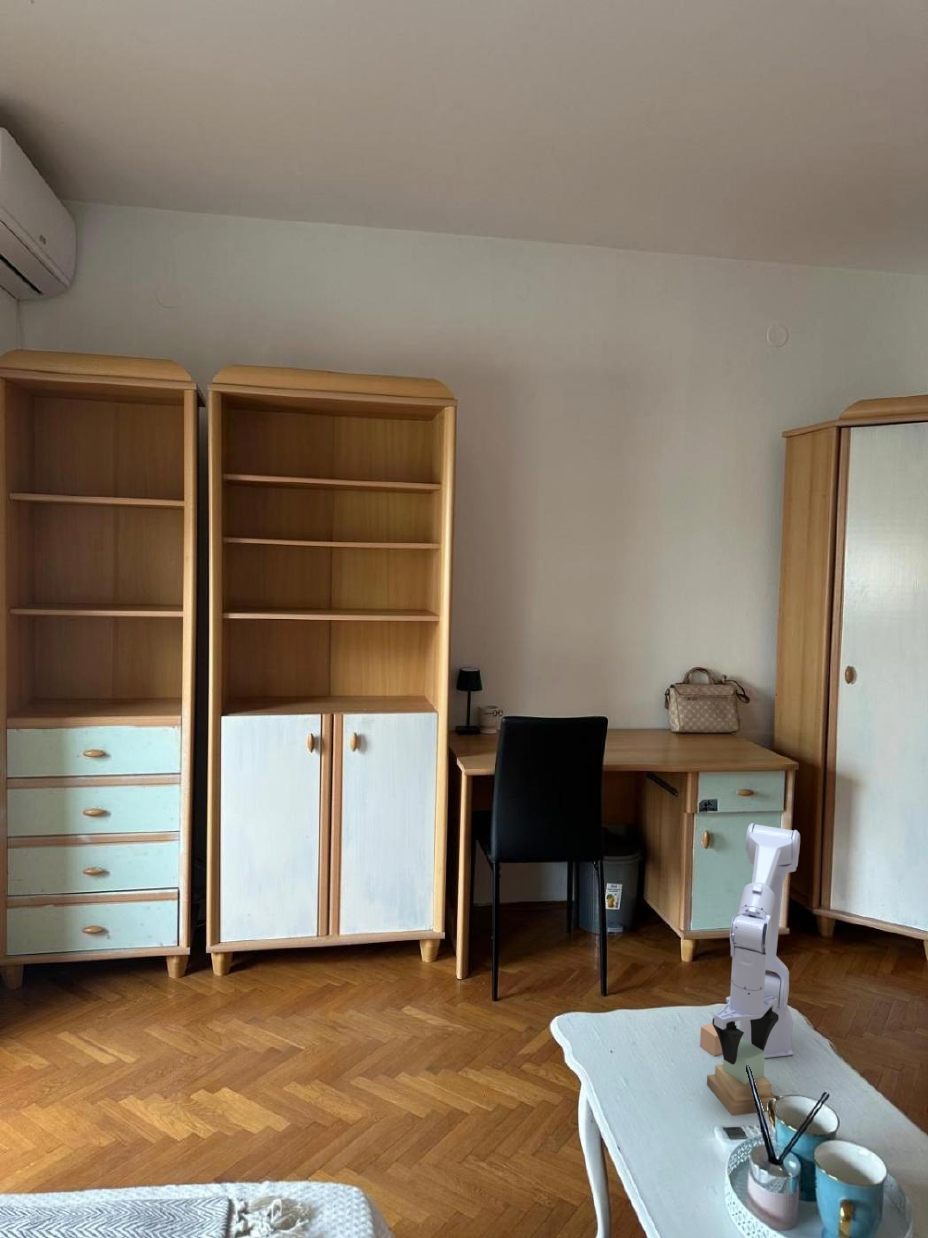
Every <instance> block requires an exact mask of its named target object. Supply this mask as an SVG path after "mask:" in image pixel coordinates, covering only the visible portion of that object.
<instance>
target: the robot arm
mask: <svg viewBox="0 0 928 1238" xmlns="http://www.w3.org/2000/svg"><path fill="white" fill-rule="evenodd" d="M745 834H746V835H745V851H746V853H747V858H748V859H749V863H750V864H751V865H753V869H752V870H753V871H752V879H751V882H750V883H748V884H746V885H745V886H744V888H743V890H742V895H741V899H740V903H739V907H738V911H737V916H736V915H734V916H733V917H732V919H731V923H730V929H729V944H730V957H731V958H732V960H731V978H730V995H729V996H727V997H725V1002H726V1004H725V1005H724V1006H723V1007H722V1008H721V1010H720V1011H719V1012H717V1013H714V1017H713V1018H712V1025H713V1026H714V1028H715V1030H716V1032H717V1035H718V1037H719V1040H720V1043H721V1047H722V1052H723V1054H722V1056H723V1057H724V1060H726V1061H727V1062H729V1063H730V1064H732V1065H733V1064H735V1062H736V1059H737V1052H738V1046H739V1043H740V1040H741V1039H742V1038H743V1039H745V1040H746V1041H748V1042H749V1043H751V1044H753V1045H754V1046H756V1047H758V1048H759V1049H761V1050H763V1051H764V1052H765V1059H770V1058H776V1057H778V1058H779V1057H786V1056H787V1057H788V1056H794V1051H793V1050H792V1042H793V1039H792V1038H793V1023H794V1022H793V1016H792V1012H791V1010H790V1007H789V1006H788V999H789V992H790V990H789V989H790V971H789V969H788V967H787V966H786V965H785V963H784V962H783V961H782V960H781V959H780V958H779V957H778V956H777V950H778V949H777V948H778V940H779V931H780V930H779V929H780V919H781V908H782V899H783V898H782V897H783V888H784V882H785V879H786V877H787V874H789V873H793V872H796V871H797V867H798V864H799V855H800V849H801V848H800V847H801V846H800V845H801V834H800V832H799V831H798V830H797V829H794V830H792V829H787V828H786V829H785V828H782V827H781V828H779V827H774V826H767V825H761V824H756V823H753V822H751V823H750V824H749V825H748V827H747V830H746V833H745ZM772 972H774V973H772ZM738 1021H739V1025H740V1026H739V1028H737V1027H738V1025H736V1022H738Z"/></svg>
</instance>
